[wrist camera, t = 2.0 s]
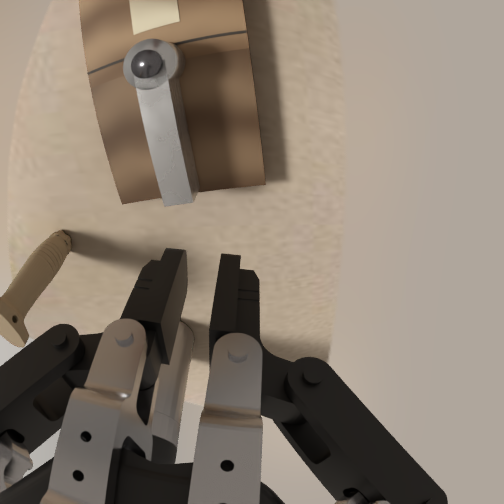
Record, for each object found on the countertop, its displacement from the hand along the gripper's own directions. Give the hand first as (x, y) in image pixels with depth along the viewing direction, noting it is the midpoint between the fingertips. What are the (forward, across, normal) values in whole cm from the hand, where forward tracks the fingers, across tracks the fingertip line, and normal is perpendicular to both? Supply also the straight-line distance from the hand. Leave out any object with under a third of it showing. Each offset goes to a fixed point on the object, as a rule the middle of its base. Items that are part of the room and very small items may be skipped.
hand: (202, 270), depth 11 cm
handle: (+17, +21, +12) cm, 30 cm away
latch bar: (+15, +5, -3) cm, 16 cm away
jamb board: (+17, +6, -8) cm, 20 cm away
